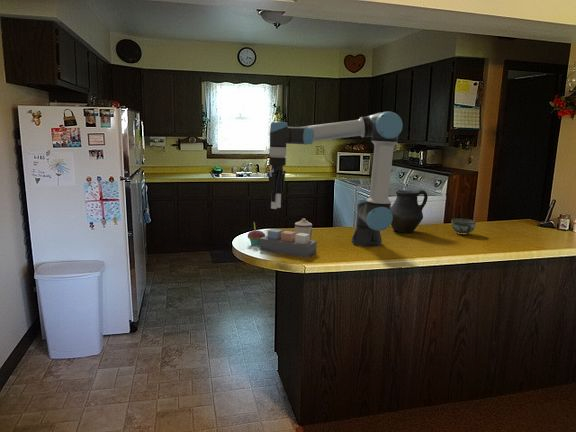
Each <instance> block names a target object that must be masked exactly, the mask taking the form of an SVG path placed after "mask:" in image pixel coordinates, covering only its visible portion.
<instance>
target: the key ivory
mask: <svg viewBox="0 0 576 432" xmlns="http://www.w3.org/2000/svg"><path fill="white" fill-rule="evenodd" d="M295 243H299V244H305V245H307V244H309V243H310V234H306V233H298V234H296V235H295Z"/></svg>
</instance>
